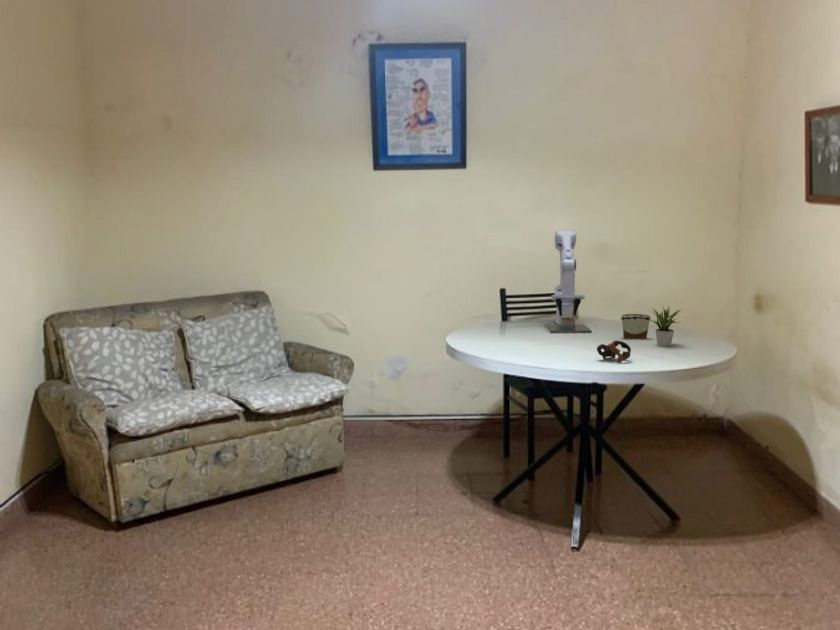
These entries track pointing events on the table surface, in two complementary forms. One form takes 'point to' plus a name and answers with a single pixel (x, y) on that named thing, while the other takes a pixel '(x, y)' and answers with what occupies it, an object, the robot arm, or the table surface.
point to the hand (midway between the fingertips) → (567, 315)
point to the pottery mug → (614, 350)
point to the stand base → (567, 327)
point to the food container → (635, 326)
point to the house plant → (664, 327)
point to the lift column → (567, 313)
